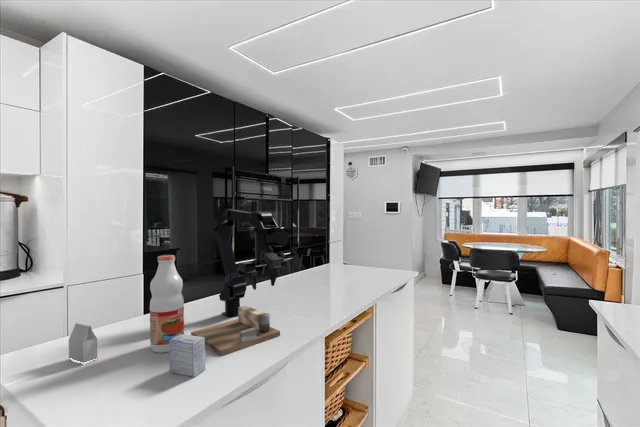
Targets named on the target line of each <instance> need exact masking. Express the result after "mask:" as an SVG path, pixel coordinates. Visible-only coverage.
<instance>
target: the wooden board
mask: <svg viewBox="0 0 640 427" xmlns="http://www.w3.org/2000/svg"><path fill="white" fill-rule="evenodd" d="M190 335H192V336H199V337H204V338H205V347H206V348H208V349H210V350H211V351H213V352H215V353H216V354H217V355H219V356H221V357H222V356H226V355H228V354H231V353H233V352H236V351H239V350H242V349H245V348H248V347H251V346H254V345H256V344H259V343H263V342H265V341H268V340H271V339H274V338H276V337H279V336H281V330H278V329H276V328H275V327H271V326H270V330H269V331H266V332H260V331H259V330H257V329H256V328H253V327H250V326H248V325H246V324H244V323H241V322H239V321H238V318H236V319H233V320H230V321H226V322H222V323H218V324H215V325H211V326H207V327H204V328H200V329H197V330H193V331H190Z"/></svg>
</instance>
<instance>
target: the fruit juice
mask: <svg viewBox="0 0 640 427" xmlns="http://www.w3.org/2000/svg"><path fill="white" fill-rule="evenodd" d="M156 261H157V262H158V266H157V270H156V272H155V275H154V277H153V278H152V279H151V281H150V285H149V290H150V293H151V298H150V301H149V331H150V332H149V335H150V336H149V337H150V339H149V341H150V342H149V343H150V350H151V351H152V352H154V353H161V354H162V353H169V340H171V339H172V338H174V337H176V336H178V335H181V334H184V335H185V317H184V316H185V314H184V313H185V306H184V305H185V303H184V302H185V301H184V296H183V294H182V290H183V285H184V283H183V278H182V277H181V276H180V275H179V273H178V271H177V268H176V265H175V261H176V255H174V254H163V255H159V256H157V260H156Z"/></svg>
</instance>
